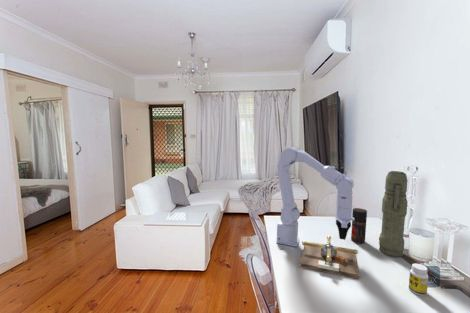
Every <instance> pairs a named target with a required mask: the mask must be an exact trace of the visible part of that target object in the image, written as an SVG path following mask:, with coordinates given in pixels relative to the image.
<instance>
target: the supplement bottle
mask: <svg viewBox="0 0 470 313" xmlns="http://www.w3.org/2000/svg"><path fill="white" fill-rule="evenodd" d="M428 272H429V271H428V267H426V266H425V265H423V264H420V263H412V264H411V269H410V270H409V276H408V277H409V279H408V290H409V291H410V292H411V293H412V294H414V295H418V296H422V297H423V296H426V295H427V294H428V285H429V275H428Z"/></svg>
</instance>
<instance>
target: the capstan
mask: <svg viewBox="0 0 470 313" xmlns="http://www.w3.org/2000/svg"><path fill="white" fill-rule="evenodd" d="M326 239H327V243H326V244H324V245H325V247H322V244H323V243H318V242H312V241H306V240H302V242H301V244H302V246H304V245H306V246H312V247H318V248H321V256H322V257H323V258H325V259H326V260H327V261H331V260H335V261H337V262H339V263H341V264H344V263H345V262H346V258H344V257H341V256H339V255H337V251H341V252H346V253H352V254H355V255H358V254H359V250H358V249H352V248H347V247H342V246H335V247H336V249H334V248H333V246H334V245H333V244H332V242H331V241H332V236H330V235H327V237H326Z"/></svg>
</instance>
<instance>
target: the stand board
mask: <svg viewBox="0 0 470 313" xmlns="http://www.w3.org/2000/svg"><path fill="white" fill-rule="evenodd" d="M321 244H322V247H325V244H323V243H321ZM336 247H337V246H336V245H335V246H334V245H333V248H334V249H336ZM337 255H339V256H341V257H344V258H346V262H345V263H344V264H341V263H339V262H337V261H335V260H331V261H327V260H326V259H325V258H323V257H322V256H321V248H318V247H312V246H306V245H303V249H302V253H301V258H300V261H299V267H300V268H304V269H309V270H314V271H318V272H323V273H328V274H334V275H338V276H343V277H347V278H351V279H357V280H359V279H360V273H359V268H358V264H357V260H356V259H357V258H356V254H352V253H346V252H341V251H337ZM319 260H320V261H325V265H326V263H327V262H330V263H331V266H332V263H336V264H339V272H338V271H333V270H328V269H324V268H319V267H318V262H319Z"/></svg>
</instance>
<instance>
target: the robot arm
mask: <svg viewBox="0 0 470 313" xmlns="http://www.w3.org/2000/svg"><path fill="white" fill-rule="evenodd" d="M279 155H280V156H279V158H278V159H279V160H278V162H277V164H276V168H277V176H278V180H279V188H280V195H281V200H282V205H281V208H280V211H281V212H280V221H277V225H276V244H279V245H281V244H282V245H287V246H291V247H298V246H299V242H300V238H299V236H298V235H299V221H298V219H300V217H301V212H300V210H299V209H298V204H297V203H296V202H295V198H294V191H293V185H292V179H291V177H292V176H291V172H290V168H291V167H292V166H293V164H295V163H296V162H297V163H305V164H306V165H308V166H309V167H311V168H312V169H314V170H315V171H318V172H319V173H320V177H321V178H322V179H324V180H325V181H327V182H329V183H330V184H331V185H333V186H335V187H336V189H337V195H336V210H335V211H336V212H335V224H336V227H337V230H338V239H340V240H346V238H347V235H348V232H349V230H350V229H351V228H352V222H351V221H354V218H353V217H352V214H353V188H354V185H355V182H354V180H353V179H352V178H351V177H350V176H348V175H346V174H345V173H341V172H340V171H338V170H336V167H335V166H333V165H332V166H331V165H324V164H322V163H321V162H320V161H318V160H317V159H316V158H314V157H313V156H312V155H310V154H309V153H307V152H306V151H305V150H303V149H301V148H299V147H297V146H293V147H286V148H284V149H283V150H282V151H281V152H280V154H279Z"/></svg>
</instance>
